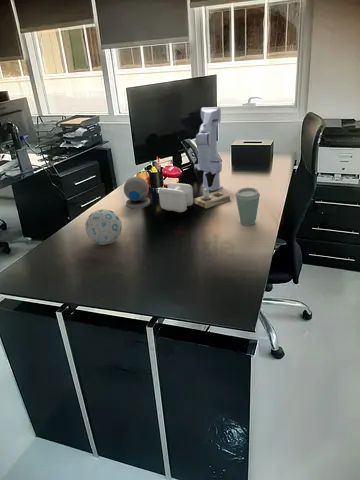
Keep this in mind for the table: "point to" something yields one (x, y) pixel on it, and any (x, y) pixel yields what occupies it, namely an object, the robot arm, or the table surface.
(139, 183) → the webcam
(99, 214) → the puzzle ball
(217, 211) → the table surface
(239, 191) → the disposable coffee cup
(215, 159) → the robot arm
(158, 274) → the table surface
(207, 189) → the pin
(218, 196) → the socket block
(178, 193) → the cable organizer
